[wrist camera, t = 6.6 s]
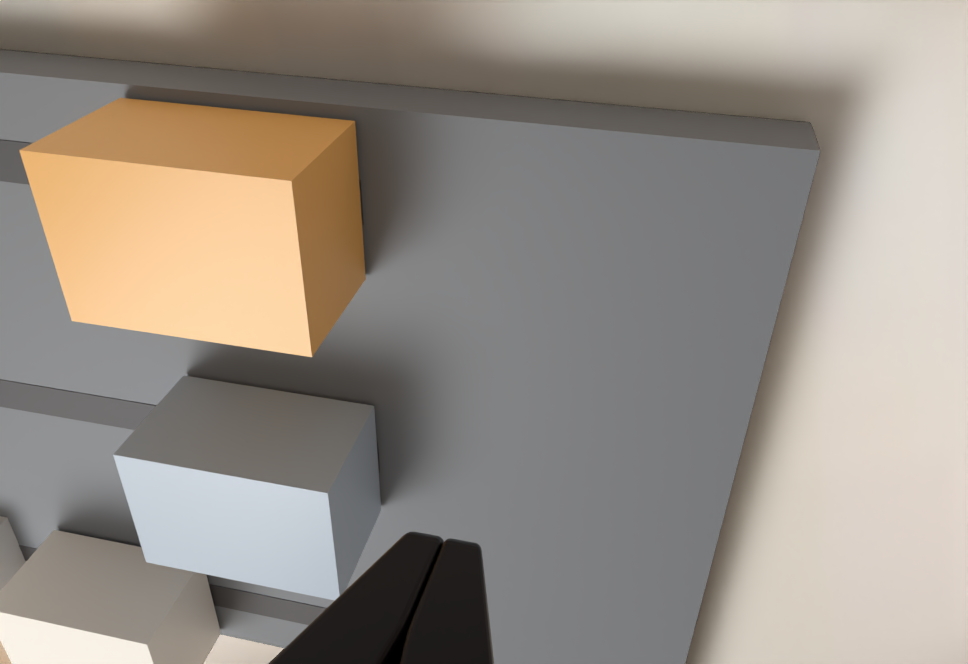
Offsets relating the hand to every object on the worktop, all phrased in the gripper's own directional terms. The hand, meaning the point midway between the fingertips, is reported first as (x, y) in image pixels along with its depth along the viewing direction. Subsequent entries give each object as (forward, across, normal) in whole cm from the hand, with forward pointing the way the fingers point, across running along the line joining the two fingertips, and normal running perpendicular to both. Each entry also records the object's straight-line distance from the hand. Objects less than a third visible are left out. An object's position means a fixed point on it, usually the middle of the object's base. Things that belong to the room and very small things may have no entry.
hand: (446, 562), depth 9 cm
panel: (+10, +6, +7) cm, 14 cm away
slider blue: (+8, +6, +7) cm, 13 cm away
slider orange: (+8, +6, 0) cm, 11 cm away
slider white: (+8, +12, +14) cm, 20 cm away
